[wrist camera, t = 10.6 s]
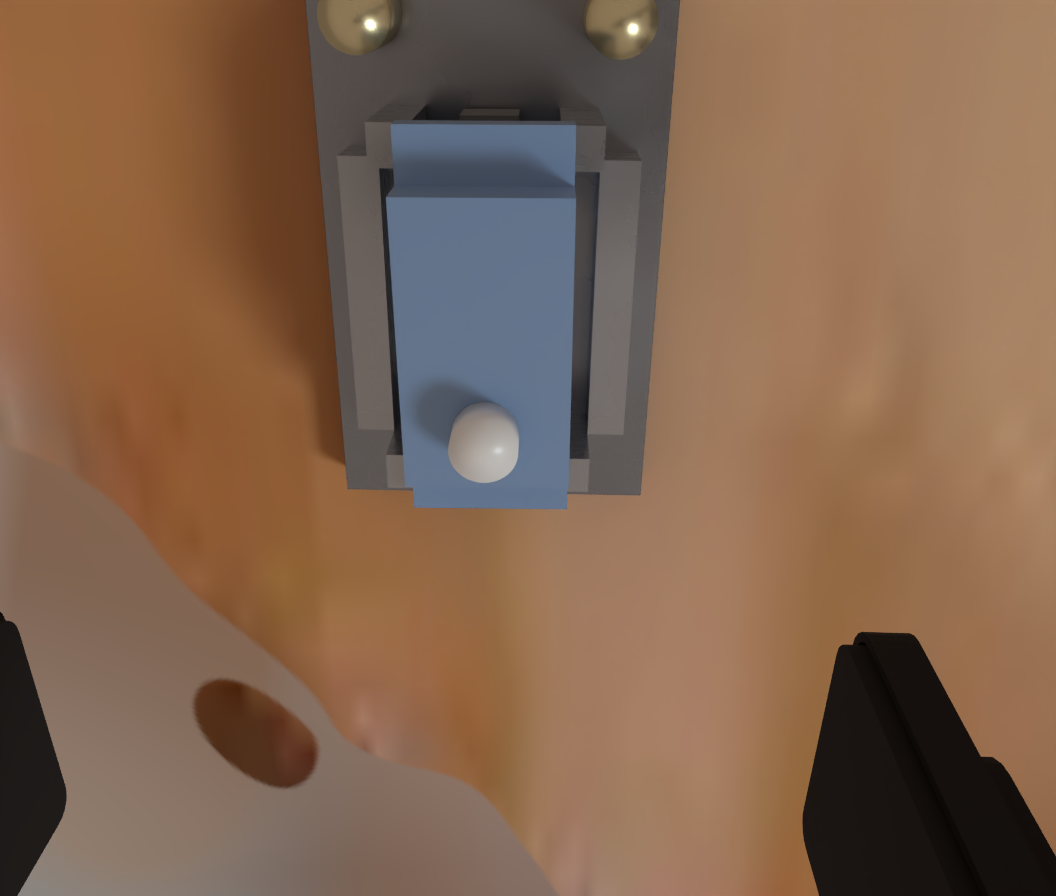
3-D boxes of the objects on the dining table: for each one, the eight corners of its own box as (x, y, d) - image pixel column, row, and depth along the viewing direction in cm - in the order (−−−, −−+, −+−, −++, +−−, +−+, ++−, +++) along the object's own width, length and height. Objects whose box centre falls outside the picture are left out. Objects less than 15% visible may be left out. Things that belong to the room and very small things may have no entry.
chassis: (311, -67, 23) (264, -75, 19) (678, -62, 23) (703, -68, 19) (354, 470, 30) (327, 542, 26) (637, 476, 30) (649, 549, 26)
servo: (413, 101, 23) (373, 140, 18) (572, 102, 23) (579, 141, 18) (430, 442, 28) (402, 554, 22) (564, 443, 28) (568, 556, 22)
